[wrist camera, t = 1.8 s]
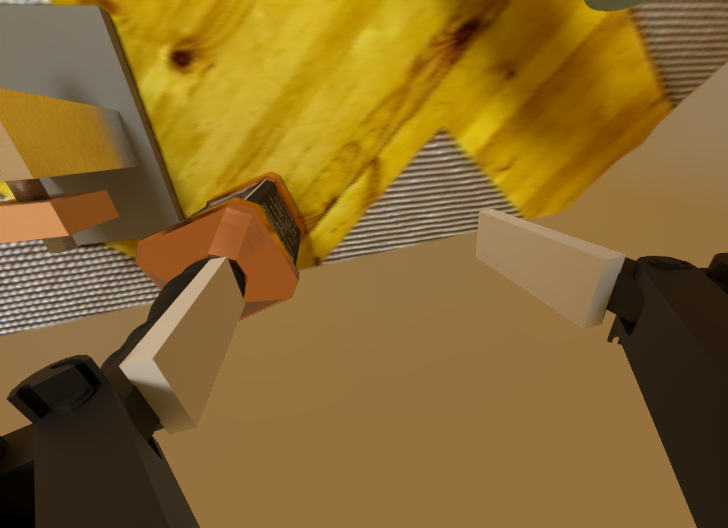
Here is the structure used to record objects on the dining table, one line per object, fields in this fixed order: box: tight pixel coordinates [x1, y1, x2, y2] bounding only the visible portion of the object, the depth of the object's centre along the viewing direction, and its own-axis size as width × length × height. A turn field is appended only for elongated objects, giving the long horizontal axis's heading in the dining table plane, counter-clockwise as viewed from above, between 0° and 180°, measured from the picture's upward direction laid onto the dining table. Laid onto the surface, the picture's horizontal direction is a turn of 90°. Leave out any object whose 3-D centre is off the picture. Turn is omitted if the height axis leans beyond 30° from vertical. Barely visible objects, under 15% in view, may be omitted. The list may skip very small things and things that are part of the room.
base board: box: [0, 5, 184, 245], centre depth 31 cm, size 24×14×2 cm, turn 4°
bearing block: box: [0, 88, 140, 181], centre depth 24 cm, size 6×10×14 cm, turn 94°
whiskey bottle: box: [100, 172, 306, 431], centre depth 24 cm, size 10×10×32 cm
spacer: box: [0, 190, 119, 243], centre depth 25 cm, size 3×7×7 cm, turn 94°
